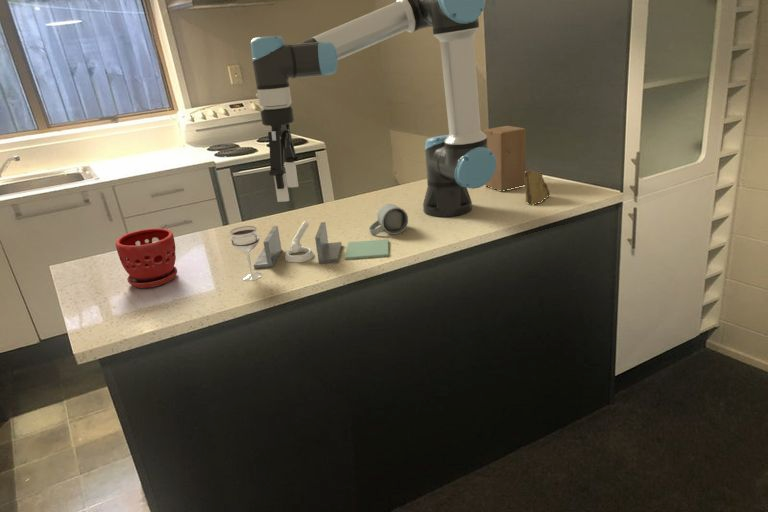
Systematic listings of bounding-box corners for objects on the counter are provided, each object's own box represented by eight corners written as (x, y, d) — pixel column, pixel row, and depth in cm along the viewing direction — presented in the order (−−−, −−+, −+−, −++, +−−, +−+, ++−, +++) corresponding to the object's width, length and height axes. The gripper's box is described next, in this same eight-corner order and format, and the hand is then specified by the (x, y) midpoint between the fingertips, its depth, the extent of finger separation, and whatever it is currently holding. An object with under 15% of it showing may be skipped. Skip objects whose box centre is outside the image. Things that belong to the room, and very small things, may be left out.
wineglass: (242, 271, 134) (233, 226, 130) (268, 270, 134) (260, 224, 130) (234, 283, 128) (224, 236, 124) (262, 281, 128) (253, 234, 123)
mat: (388, 241, 146) (388, 239, 146) (388, 256, 136) (388, 254, 135) (348, 244, 146) (348, 242, 146) (345, 259, 136) (344, 257, 136)
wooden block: (501, 192, 180) (501, 132, 173) (484, 186, 189) (483, 129, 181) (525, 187, 184) (526, 128, 176) (507, 181, 192) (507, 125, 185)
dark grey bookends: (341, 245, 146) (338, 221, 143) (337, 262, 135) (334, 236, 132) (264, 251, 147) (260, 227, 144) (254, 268, 136) (249, 242, 133)
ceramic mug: (400, 223, 159) (398, 199, 156) (409, 231, 151) (407, 205, 149) (366, 230, 156) (363, 205, 153) (374, 239, 149) (370, 212, 146)
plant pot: (127, 297, 126) (113, 249, 122) (128, 277, 137) (115, 234, 133) (185, 283, 131) (173, 237, 126) (181, 266, 142) (170, 223, 138)
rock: (543, 186, 175) (515, 186, 172) (555, 168, 168) (526, 168, 165) (554, 212, 169) (525, 213, 167) (566, 195, 162) (537, 196, 160)
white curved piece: (327, 241, 135) (302, 230, 132) (306, 275, 140) (281, 265, 137) (327, 226, 141) (303, 215, 138) (306, 259, 146) (282, 250, 144)
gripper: (271, 102, 138) (283, 182, 146) (247, 114, 115) (262, 209, 123) (300, 100, 138) (310, 180, 146) (281, 111, 115) (295, 206, 123)
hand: (288, 193), depth 134 cm, fingers open, 13 cm apart
